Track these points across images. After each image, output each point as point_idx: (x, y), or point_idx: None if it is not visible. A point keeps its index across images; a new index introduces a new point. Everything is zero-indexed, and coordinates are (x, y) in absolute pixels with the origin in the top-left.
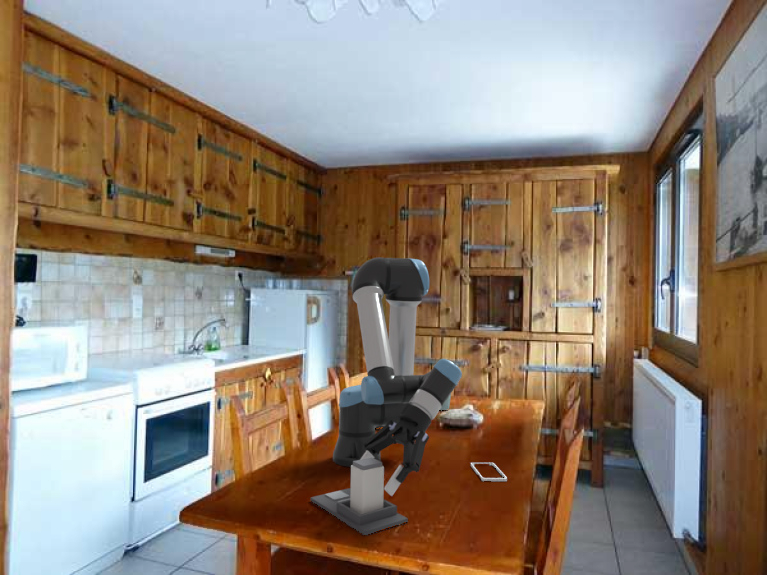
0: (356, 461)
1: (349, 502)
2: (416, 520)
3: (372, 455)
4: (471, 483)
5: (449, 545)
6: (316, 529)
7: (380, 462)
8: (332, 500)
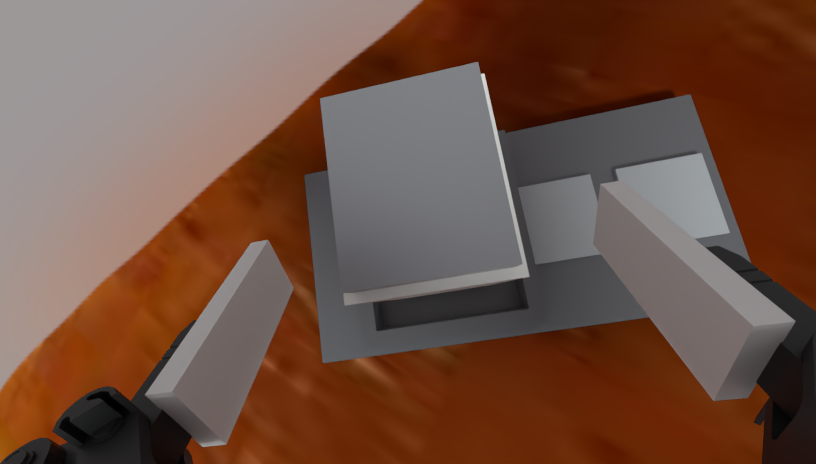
0: (460, 88)
1: None
2: (332, 403)
3: (721, 377)
4: None
5: (135, 387)
6: (420, 63)
7: (339, 272)
8: (620, 166)
